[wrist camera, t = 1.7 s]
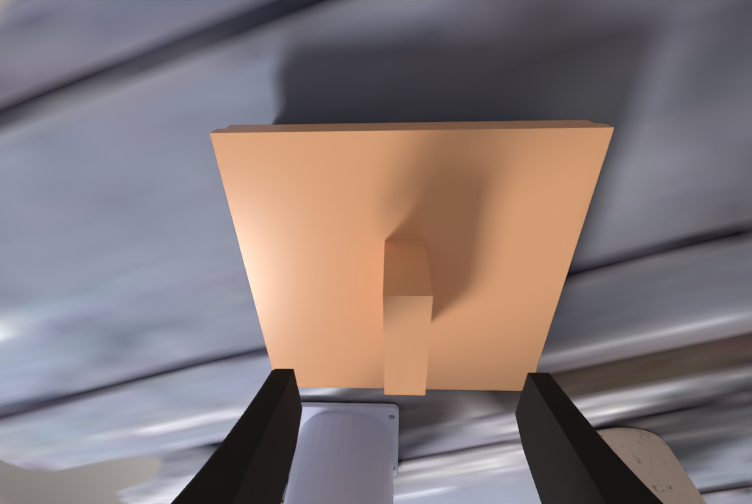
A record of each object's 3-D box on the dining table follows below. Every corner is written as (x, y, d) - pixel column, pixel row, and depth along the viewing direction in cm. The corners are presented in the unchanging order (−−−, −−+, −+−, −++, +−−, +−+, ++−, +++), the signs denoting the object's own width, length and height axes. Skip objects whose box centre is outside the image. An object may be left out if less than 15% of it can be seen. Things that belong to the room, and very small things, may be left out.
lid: (520, 366, 20) (554, 458, 16) (284, 363, 21) (256, 450, 17) (591, 117, 13) (688, 161, 9) (227, 122, 14) (152, 167, 9)
